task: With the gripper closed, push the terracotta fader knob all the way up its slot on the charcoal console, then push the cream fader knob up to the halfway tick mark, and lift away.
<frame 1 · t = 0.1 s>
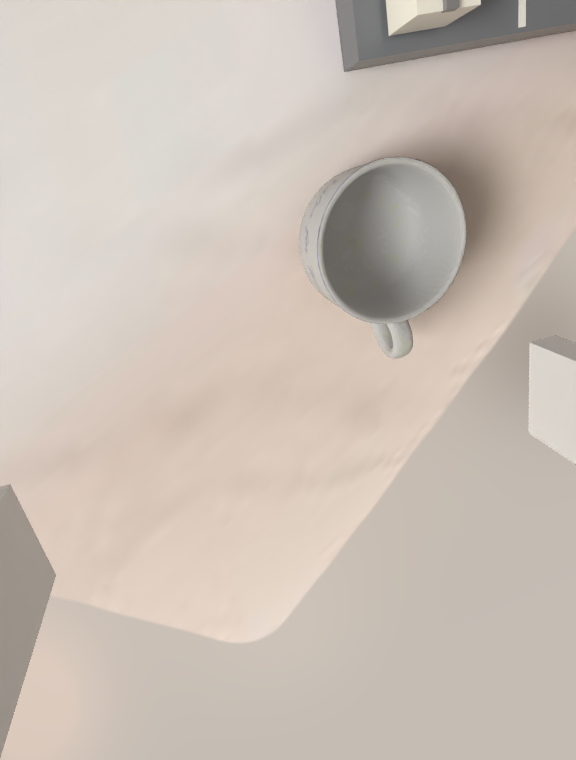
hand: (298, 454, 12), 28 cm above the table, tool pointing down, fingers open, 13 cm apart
teacup: (353, 256, 40), on the table
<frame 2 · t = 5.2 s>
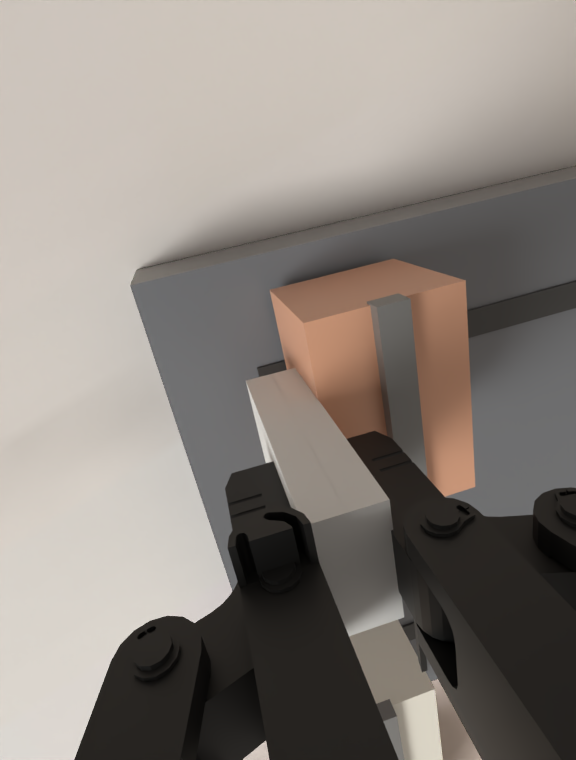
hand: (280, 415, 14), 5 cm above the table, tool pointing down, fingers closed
console: (465, 440, 23), on the table
fader terracotta: (372, 388, 14), point 6 cm above the table, slide at 1.9 cm, touching gripper
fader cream: (371, 711, 19), point 6 cm above the table, slide at 0.0 cm
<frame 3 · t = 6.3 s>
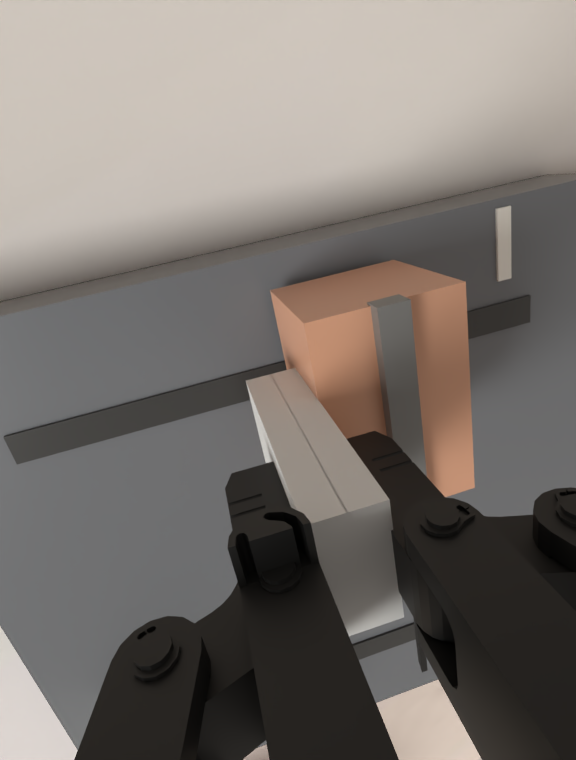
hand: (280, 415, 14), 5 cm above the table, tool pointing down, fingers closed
console: (303, 491, 22), on the table
fader terracotta: (372, 389, 14), point 6 cm above the table, slide at 9.9 cm, touching gripper
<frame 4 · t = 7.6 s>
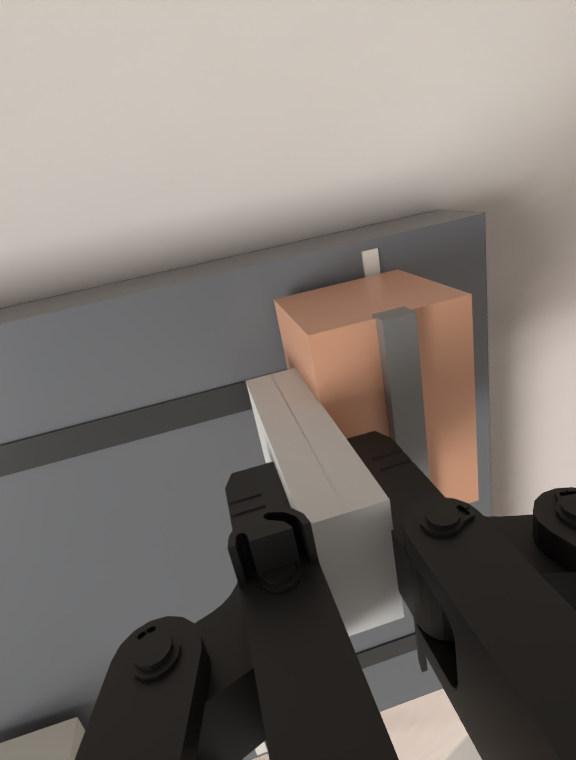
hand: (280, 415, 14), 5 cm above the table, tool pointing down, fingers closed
console: (199, 531, 21), on the table
fader terracotta: (376, 399, 14), point 6 cm above the table, slide at 14.7 cm, touching gripper
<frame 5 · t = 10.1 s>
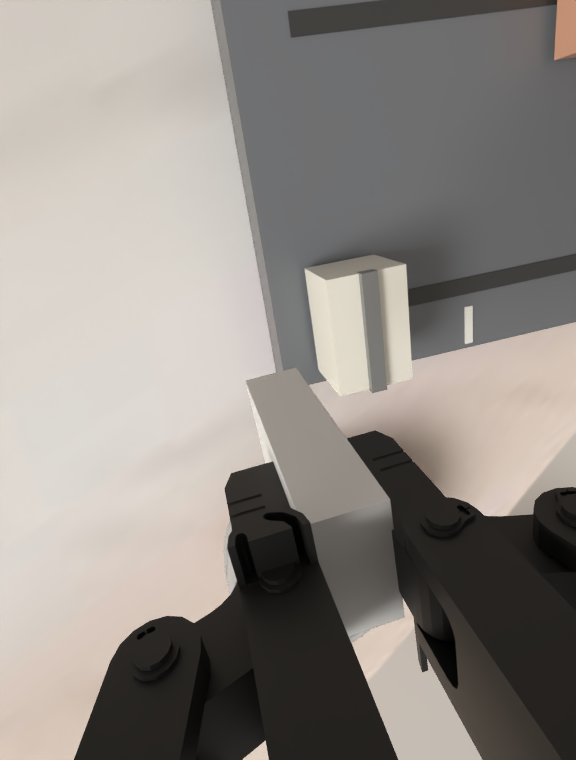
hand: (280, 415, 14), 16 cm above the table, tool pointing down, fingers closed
console: (439, 162, 29), on the table
teacup: (290, 530, 37), on the table
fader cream: (359, 323, 25), point 6 cm above the table, slide at 0.0 cm
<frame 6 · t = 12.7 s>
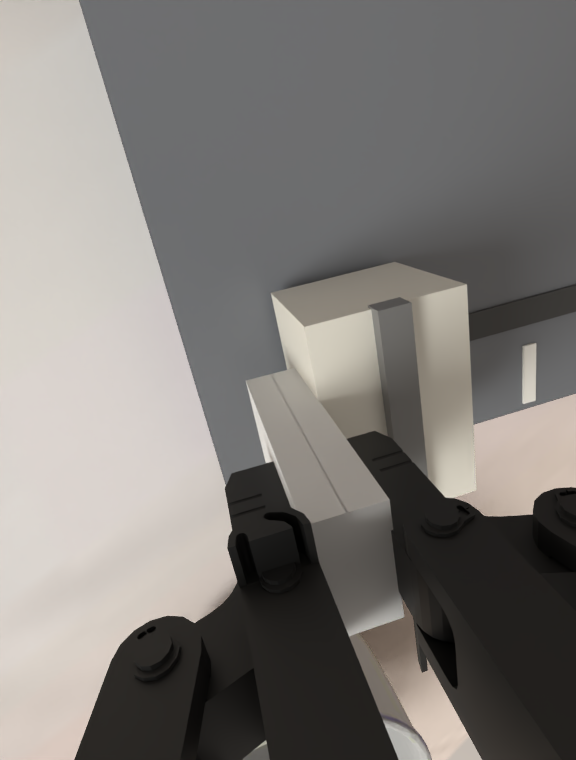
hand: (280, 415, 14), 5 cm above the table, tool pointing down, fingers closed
console: (473, 104, 17), on the table
teacup: (264, 665, 25), on the table
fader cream: (373, 391, 14), point 6 cm above the table, slide at 0.9 cm, touching gripper
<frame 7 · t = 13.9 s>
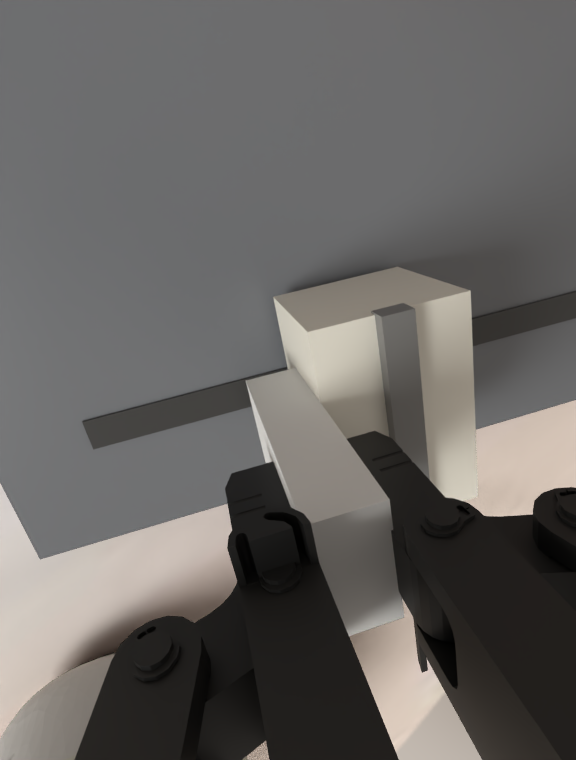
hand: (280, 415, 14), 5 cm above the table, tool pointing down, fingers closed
console: (299, 145, 16), on the table
teacup: (136, 713, 24), on the table
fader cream: (375, 396, 14), point 6 cm above the table, slide at 7.6 cm, touching gripper
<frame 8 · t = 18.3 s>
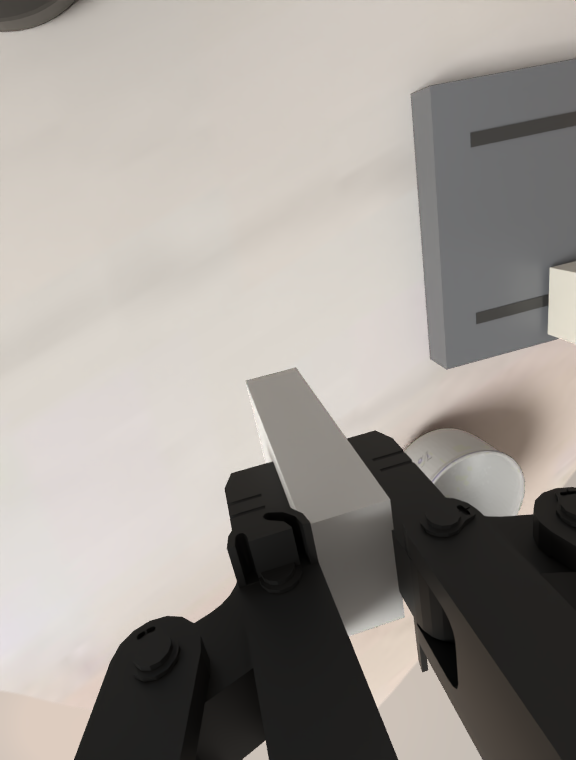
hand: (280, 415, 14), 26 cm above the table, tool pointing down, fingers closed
console: (546, 211, 43), on the table
teacup: (428, 474, 50), on the table
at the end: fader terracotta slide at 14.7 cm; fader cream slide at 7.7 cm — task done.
